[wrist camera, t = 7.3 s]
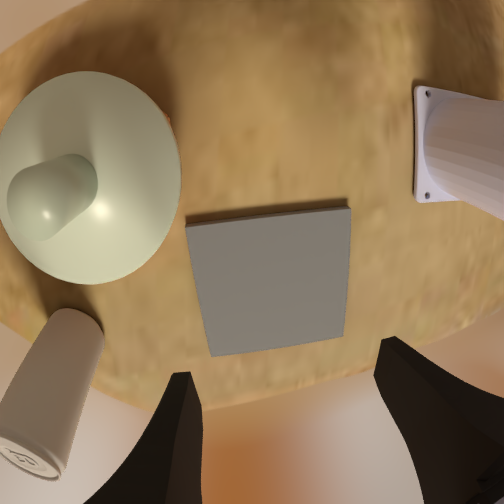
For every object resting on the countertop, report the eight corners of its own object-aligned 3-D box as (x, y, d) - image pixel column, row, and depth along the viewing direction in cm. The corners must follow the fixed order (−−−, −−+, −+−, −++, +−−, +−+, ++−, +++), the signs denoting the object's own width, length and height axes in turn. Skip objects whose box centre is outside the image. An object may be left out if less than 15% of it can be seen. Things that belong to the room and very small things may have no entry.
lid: (166, 48, 11) (146, 20, 7) (199, 262, 15) (195, 311, 11) (-12, 114, 10) (-64, 121, 7) (32, 286, 15) (-2, 329, 11)
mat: (347, 205, 19) (351, 208, 18) (340, 331, 23) (343, 336, 22) (186, 224, 18) (185, 227, 18) (211, 351, 22) (211, 356, 22)
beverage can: (43, 304, 19) (-31, 424, 8) (95, 302, 20) (32, 444, 9) (64, 353, 21) (16, 472, 10) (114, 353, 22) (78, 489, 11)
